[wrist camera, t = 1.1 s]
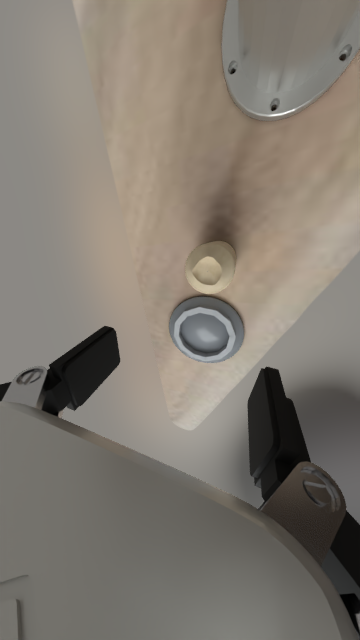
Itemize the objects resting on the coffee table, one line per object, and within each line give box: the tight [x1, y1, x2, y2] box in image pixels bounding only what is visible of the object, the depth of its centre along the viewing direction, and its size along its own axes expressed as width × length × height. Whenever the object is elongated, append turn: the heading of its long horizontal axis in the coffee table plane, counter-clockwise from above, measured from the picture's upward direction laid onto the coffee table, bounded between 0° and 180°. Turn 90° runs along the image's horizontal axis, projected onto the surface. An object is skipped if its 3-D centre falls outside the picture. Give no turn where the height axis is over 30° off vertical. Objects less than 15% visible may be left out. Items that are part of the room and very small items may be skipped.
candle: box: [185, 241, 236, 294], centre depth 22 cm, size 6×6×10 cm
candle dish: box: [169, 296, 244, 363], centre depth 31 cm, size 14×14×2 cm
